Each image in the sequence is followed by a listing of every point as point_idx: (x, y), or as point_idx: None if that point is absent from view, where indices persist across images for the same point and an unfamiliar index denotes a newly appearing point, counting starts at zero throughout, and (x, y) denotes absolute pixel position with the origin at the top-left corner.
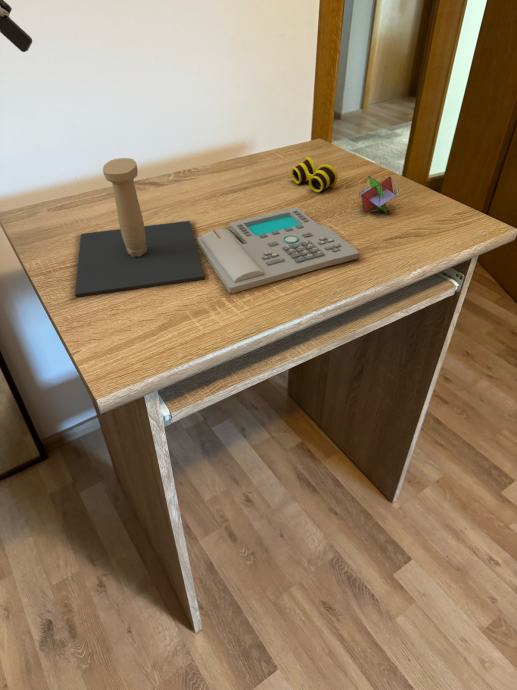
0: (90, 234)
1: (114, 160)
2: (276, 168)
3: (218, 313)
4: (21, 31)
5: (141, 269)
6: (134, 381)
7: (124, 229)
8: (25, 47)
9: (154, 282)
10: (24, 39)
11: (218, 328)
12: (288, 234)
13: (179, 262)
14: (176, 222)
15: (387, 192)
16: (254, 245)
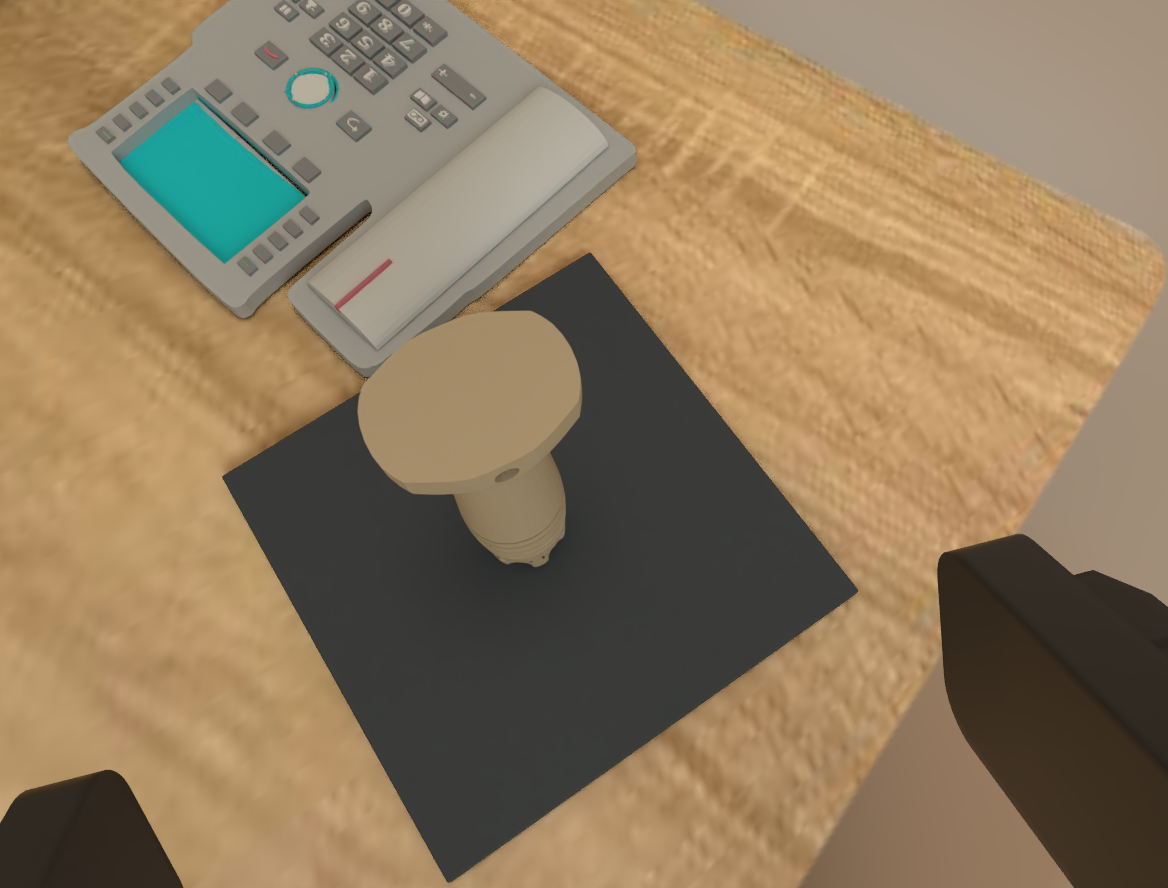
0: (441, 831)
1: (404, 463)
2: None
3: (739, 154)
4: (34, 881)
5: (626, 458)
6: (1085, 213)
7: (563, 498)
8: (155, 873)
9: (683, 375)
10: (108, 850)
11: (800, 129)
12: (276, 107)
13: None
14: (247, 519)
15: None
16: (374, 174)
